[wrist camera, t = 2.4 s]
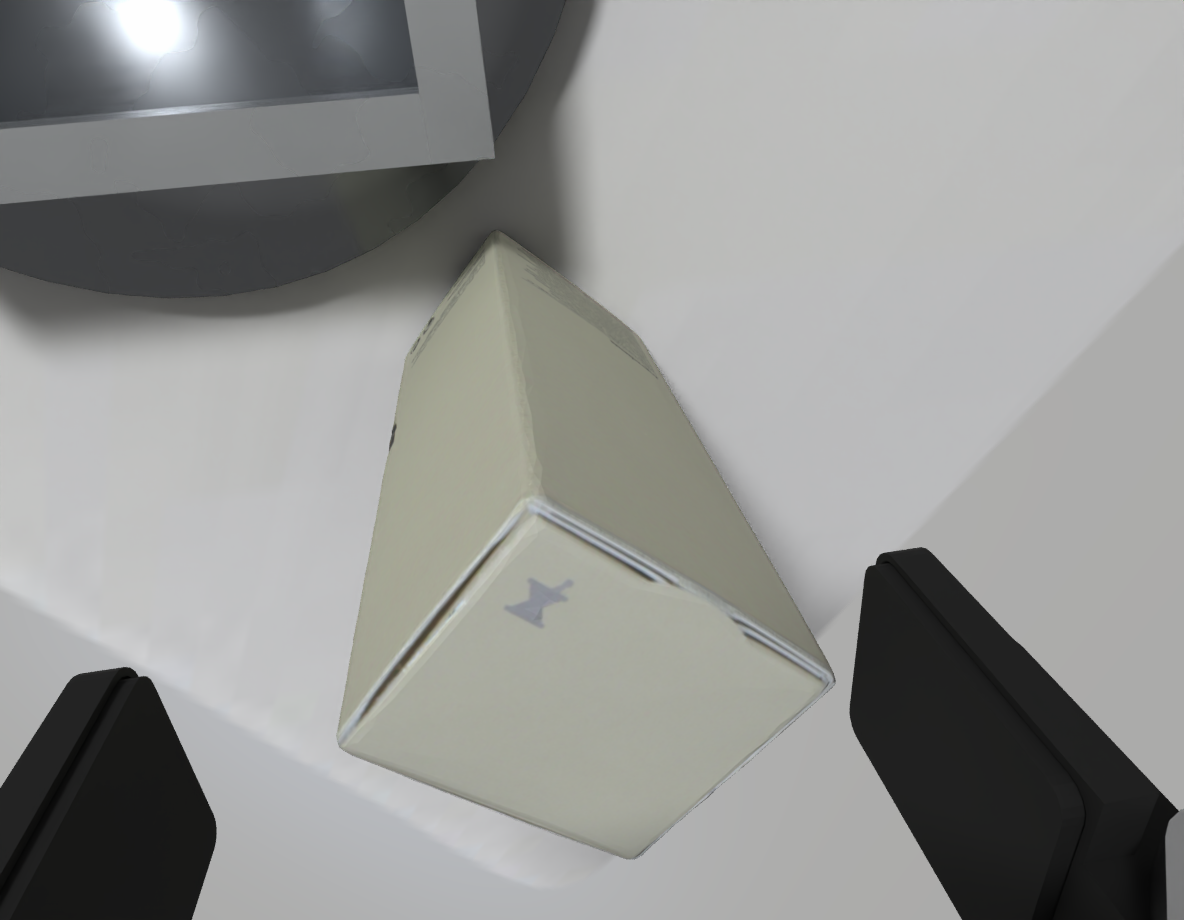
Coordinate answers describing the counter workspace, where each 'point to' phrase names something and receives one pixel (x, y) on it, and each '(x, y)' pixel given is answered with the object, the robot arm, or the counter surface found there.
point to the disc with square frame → (243, 131)
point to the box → (563, 577)
